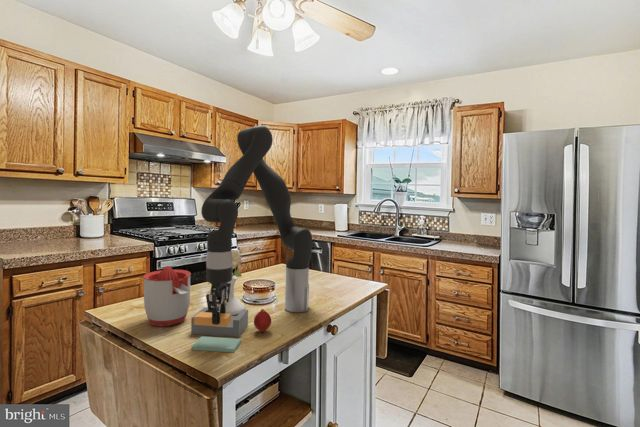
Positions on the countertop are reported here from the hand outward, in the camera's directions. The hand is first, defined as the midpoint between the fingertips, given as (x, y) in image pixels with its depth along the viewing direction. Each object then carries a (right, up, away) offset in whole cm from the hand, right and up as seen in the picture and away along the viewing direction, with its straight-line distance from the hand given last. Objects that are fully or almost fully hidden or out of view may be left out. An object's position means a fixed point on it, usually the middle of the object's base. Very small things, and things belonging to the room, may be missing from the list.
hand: (218, 320), depth 103 cm
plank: (-2, -1, 0) cm, 2 cm away
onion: (+11, -8, +12) cm, 18 cm away
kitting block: (-3, -7, +13) cm, 15 cm away
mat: (-1, -8, +1) cm, 8 cm away
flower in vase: (-3, -6, +28) cm, 29 cm away
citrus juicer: (-23, -6, +18) cm, 30 cm away
